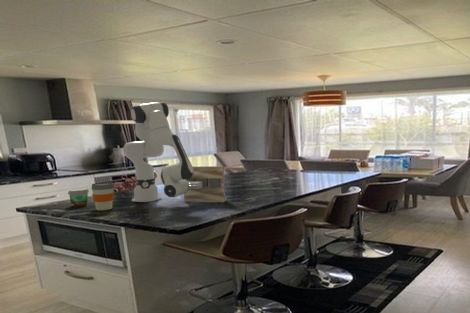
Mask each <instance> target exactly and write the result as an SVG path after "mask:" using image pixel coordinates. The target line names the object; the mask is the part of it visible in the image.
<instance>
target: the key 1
mask: <svg viewBox="0 0 470 313" xmlns="http://www.w3.org/2000/svg"><path fill="white" fill-rule="evenodd" d="M186 180H187V181H188V182H196V178H190V179H186Z"/></svg>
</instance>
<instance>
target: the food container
mask: <svg viewBox="0 0 470 313" xmlns="http://www.w3.org/2000/svg"><path fill="white" fill-rule="evenodd" d="M89 192H90V191H89V189H88V188H86V189H84V190H83V189H82V190H81V189H80V190H79V189H78V190H68V192H67V195H68V196H69V200H70V206H71V207H72V206H74V207H73V208H78V207H77V206H80V207H86V206H87V205H88V198H89V196H88V195H89ZM85 205H86V206H85Z"/></svg>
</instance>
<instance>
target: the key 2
mask: <svg viewBox="0 0 470 313" xmlns="http://www.w3.org/2000/svg"><path fill="white" fill-rule="evenodd" d="M210 187H221V185H220V178H211V179H210Z"/></svg>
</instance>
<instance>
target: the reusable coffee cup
mask: <svg viewBox="0 0 470 313" xmlns="http://www.w3.org/2000/svg"><path fill="white" fill-rule="evenodd" d="M114 189H115V184H114V182H112V181H110V182H109V181H104V182H96V183H92V184H91V192H92V198H93V202H94V205H95V210H96V211H107V210H111V209H113V201H114V196H115V191H114Z"/></svg>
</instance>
